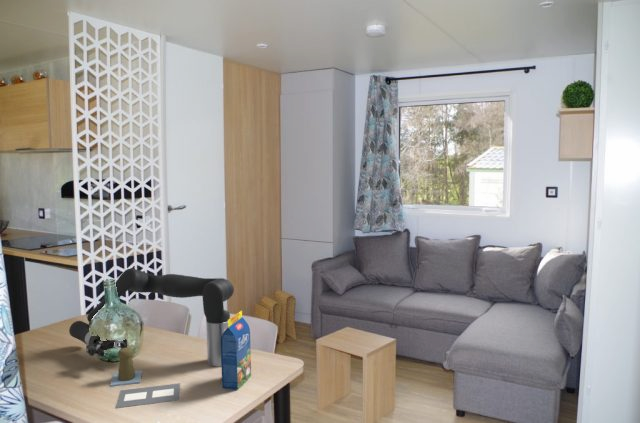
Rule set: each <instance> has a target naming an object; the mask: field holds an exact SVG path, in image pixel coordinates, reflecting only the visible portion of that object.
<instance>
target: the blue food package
mask: <svg viewBox="0 0 640 423" xmlns="http://www.w3.org/2000/svg"><path fill="white" fill-rule="evenodd" d="M251 349H252V348H251V328H250V325H249V324H248V322H247V321H246V319H245V318H244V317H243V309H242V310H239V312H237V313H236V314H234V315H233V316H232V317H230V319H229V320H228V328H227V329H226V330H225V332H224V333H223V334H222V337H221V366H220V367H221V388H222V389H226V390H236V391H237V390H239V389H240V388H241V387H243V385H244V384H245V383H246V382H247V381H248V380H249V379H250V377H251V376H252V357H251V356H252V352H251V351H252V350H251Z"/></svg>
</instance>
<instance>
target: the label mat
mask: <svg viewBox="0 0 640 423" xmlns="http://www.w3.org/2000/svg"><path fill="white" fill-rule="evenodd" d="M180 389H181V383H179V382H178V383H172V384H171V383H169V384H163V385H154V386H153V385H152V386H144V387H138V388H130V389H121V390H120V392H119V395H118V397H117V398H118V399H117V402H116V406H115V409H121V408H128V407H136V406H143V405H144V406H145V405H151V404H158V403H166V402H167V403H168V402H173V401H174V402H175V401H180V399H181V398H180V392H181V391H180Z"/></svg>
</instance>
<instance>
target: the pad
mask: <svg viewBox="0 0 640 423" xmlns="http://www.w3.org/2000/svg"><path fill="white" fill-rule="evenodd" d="M134 371H135V378H134V379H132V380H128V381H119V380H118V372H117V373H113V376H112V379H111V381H110V384H109V386H110V387H117V386H125V385H126V386H127V385H133V384H140V383H141V379H142V375H143V370H134Z"/></svg>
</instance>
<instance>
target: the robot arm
mask: <svg viewBox="0 0 640 423" xmlns="http://www.w3.org/2000/svg"><path fill="white" fill-rule="evenodd" d="M115 282H116V287H117V292H118V297H119V299H120V297H122V295H124V294H125V293H127V292H128V291H129V292H134V293H139V294H140V293H142V294H144V293H154V294H158V295H162V296H166V297H170V298H178V299H179V298H181V299H183V298H185V299H186V298H195V297H201V298H202V308H203V313H204V316H205V322H206V323H205V324H206V327H205V328H206V348H207V349H206V351H207V358H206V359H207V360H206V361H207V364H208V365H209V366H211V367H221V337H222V334H223V333H224V332H225V330H226V329H227V328H228V320H229V319H230V318H231V314H230V312H229V311H228V310H226V309H225V308H224V302H226V301H228V300H229V299H230V298H232V296H233V294H234V292H235V288H234V285H233V284H232V282H231V281H229V280H228V279H227V278H223V277H216V278H208V277H207V278H206V277H204V278H203V277H198V276H191V275H184V274H177V273H176V274H175V273H166V274H162V275H156V274H151V273H148V272H145V271H143V270H140V269H136V268H132V267H131V268H127V269H125V270H124V271H123V272H122V273H121V274H120V275H119V277H118V278H117V280H116V281H115ZM104 304H105V296H104V297H103V299H102V300H100V302H99V303H97V305H96V306H95V307H94V308H93V309H92V310H91V311H90V312H88V314H87V316H86V318H87V321H88V322H89V323H87V322H84V321H83V320H76V321H74V322H72V323H71V325H70V326H69V331H68V332H69V334H70V336H71V337H73V338H74V339H77V340H79V341H81V342H82V343H84V344H85V345H86V346H85V350H86V353H87V354H88V355H89V356H91V357H92V356H94V355H95V356H99V357H105V352H104V350H106V351H108V350H117V349H122V348H128V339H126V338H124V339H125V340H123V341H118V340H117V339H114V340H107V339H106V340H107V341H101V340H100V337H99V336H98V335H97V336H92V335H90V331H89V325H90V321H91V319H92V318H93V316H94V315H95V314H96V313H97V312H98V310H100V309H101V308H102V307H103V306H104ZM114 342H115V345H114ZM119 343H120V344H119ZM107 349H108V350H107Z"/></svg>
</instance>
